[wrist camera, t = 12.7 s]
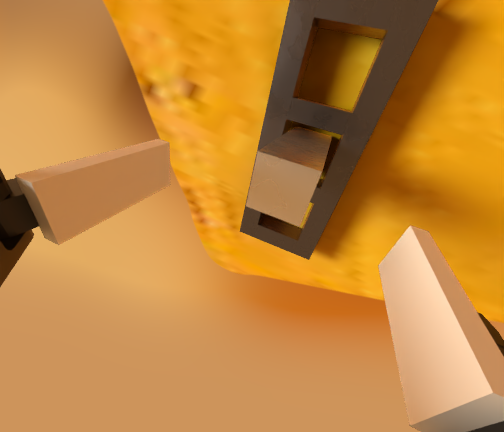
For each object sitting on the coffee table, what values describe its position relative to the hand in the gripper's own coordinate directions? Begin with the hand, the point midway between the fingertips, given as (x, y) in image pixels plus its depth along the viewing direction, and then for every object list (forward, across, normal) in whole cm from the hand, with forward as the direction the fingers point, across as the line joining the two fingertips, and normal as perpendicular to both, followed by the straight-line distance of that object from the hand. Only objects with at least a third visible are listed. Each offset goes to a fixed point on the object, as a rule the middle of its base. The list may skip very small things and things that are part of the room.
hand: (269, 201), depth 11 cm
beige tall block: (+15, 0, 0) cm, 15 cm away
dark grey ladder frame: (+15, 0, 0) cm, 15 cm away
